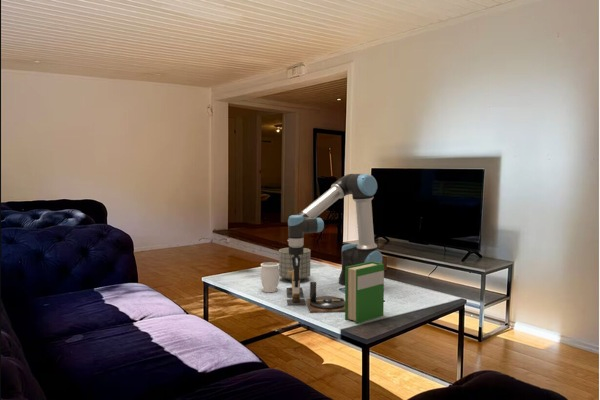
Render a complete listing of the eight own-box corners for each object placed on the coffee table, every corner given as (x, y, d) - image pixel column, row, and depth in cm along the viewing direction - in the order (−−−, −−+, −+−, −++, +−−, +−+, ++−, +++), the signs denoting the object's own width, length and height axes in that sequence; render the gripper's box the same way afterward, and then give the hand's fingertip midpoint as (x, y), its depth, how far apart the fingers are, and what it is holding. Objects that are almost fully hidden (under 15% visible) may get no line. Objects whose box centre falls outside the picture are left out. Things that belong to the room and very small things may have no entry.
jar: (276, 293, 241) (276, 266, 240) (258, 292, 243) (258, 265, 242) (281, 288, 251) (281, 262, 250) (263, 287, 253) (263, 261, 252)
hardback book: (357, 323, 194) (357, 269, 192) (345, 319, 200) (345, 266, 198) (383, 315, 205) (384, 263, 204) (371, 311, 211) (371, 261, 209)
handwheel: (342, 298, 228) (342, 277, 227) (347, 308, 211) (347, 286, 210) (309, 298, 227) (309, 278, 226) (311, 309, 210) (311, 287, 209)
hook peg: (299, 300, 227) (299, 269, 226) (300, 302, 223) (300, 270, 222) (287, 300, 227) (287, 269, 226) (287, 302, 223) (287, 271, 222)
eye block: (301, 292, 242) (301, 287, 242) (303, 297, 234) (303, 291, 234) (286, 293, 242) (286, 287, 242) (287, 297, 233) (287, 292, 233)
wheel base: (343, 300, 229) (343, 298, 229) (350, 311, 210) (350, 309, 210) (306, 300, 228) (306, 298, 228) (309, 312, 209) (309, 310, 209)
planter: (308, 284, 260) (308, 253, 259) (276, 283, 263) (276, 252, 262) (312, 276, 279) (312, 247, 277) (282, 275, 282) (282, 247, 280)
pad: (304, 299, 230) (304, 298, 230) (305, 305, 221) (305, 304, 221) (286, 300, 229) (286, 299, 229) (287, 305, 220) (287, 304, 220)
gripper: (287, 243, 231) (288, 287, 233) (289, 249, 214) (289, 297, 216) (302, 243, 231) (302, 287, 233) (304, 249, 215) (304, 296, 217)
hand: (296, 292), depth 225 cm, fingers closed on hook peg, 3 cm apart
